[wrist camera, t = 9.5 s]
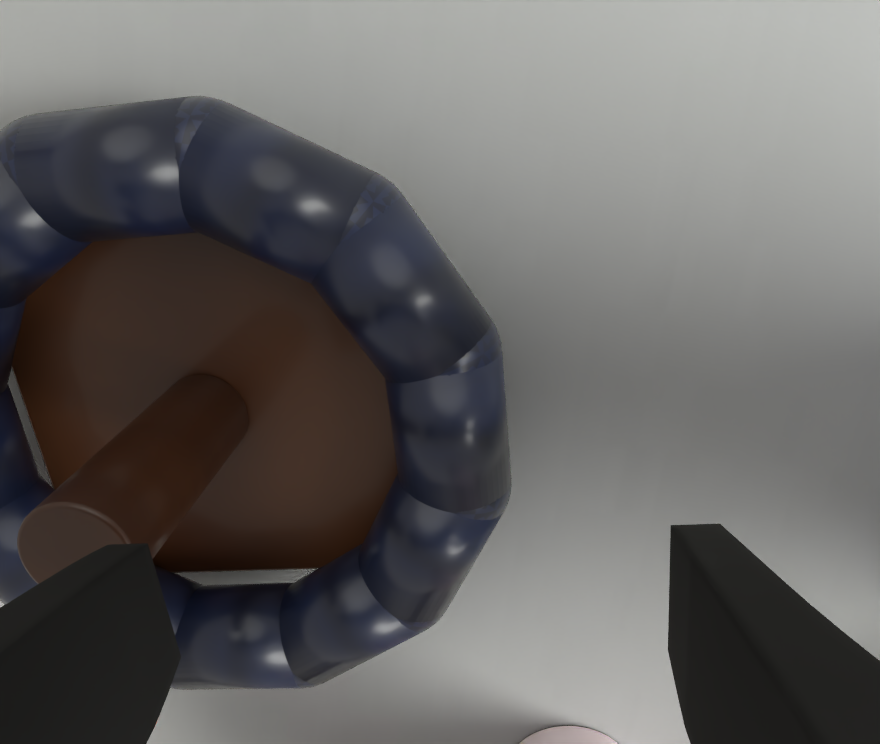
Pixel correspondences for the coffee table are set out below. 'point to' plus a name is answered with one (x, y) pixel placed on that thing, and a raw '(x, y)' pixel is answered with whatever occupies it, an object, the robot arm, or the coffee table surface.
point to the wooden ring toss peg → (197, 412)
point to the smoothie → (568, 736)
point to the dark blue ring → (353, 302)
